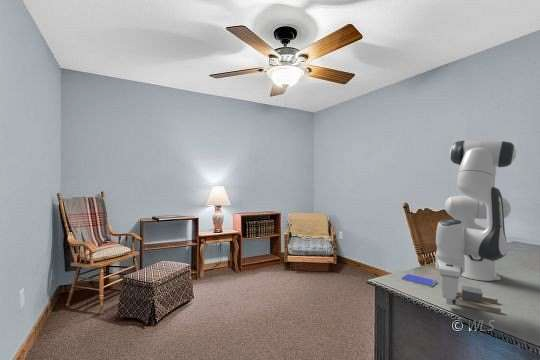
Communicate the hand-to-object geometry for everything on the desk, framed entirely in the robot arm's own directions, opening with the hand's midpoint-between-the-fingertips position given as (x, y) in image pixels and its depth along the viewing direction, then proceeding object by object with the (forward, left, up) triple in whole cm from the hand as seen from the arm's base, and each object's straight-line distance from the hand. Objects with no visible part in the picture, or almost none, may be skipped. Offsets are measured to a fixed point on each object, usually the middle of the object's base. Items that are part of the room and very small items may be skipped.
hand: (449, 303), depth 100 cm
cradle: (-12, +6, -2) cm, 14 cm away
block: (-11, +7, -2) cm, 13 cm away
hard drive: (-25, -12, -3) cm, 27 cm away
